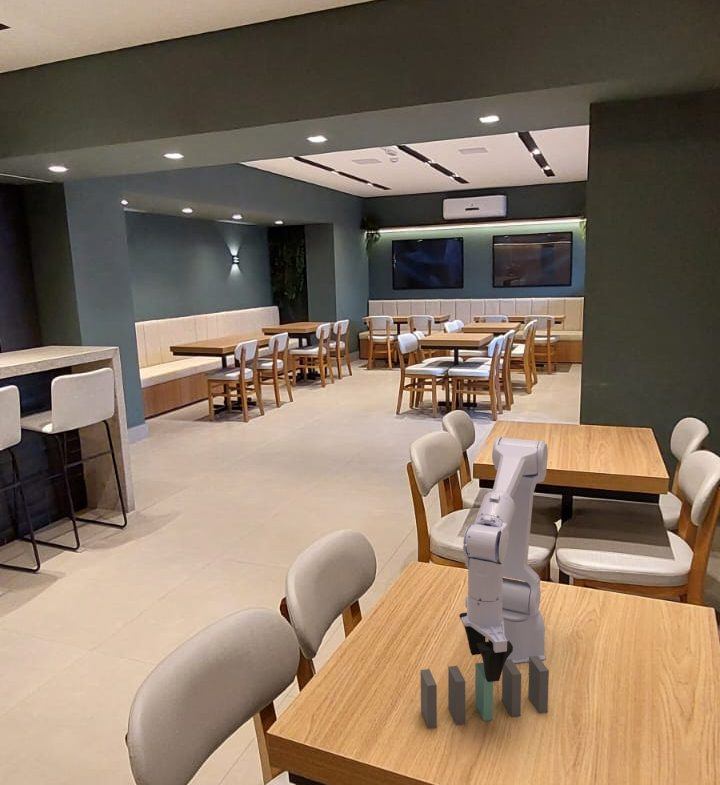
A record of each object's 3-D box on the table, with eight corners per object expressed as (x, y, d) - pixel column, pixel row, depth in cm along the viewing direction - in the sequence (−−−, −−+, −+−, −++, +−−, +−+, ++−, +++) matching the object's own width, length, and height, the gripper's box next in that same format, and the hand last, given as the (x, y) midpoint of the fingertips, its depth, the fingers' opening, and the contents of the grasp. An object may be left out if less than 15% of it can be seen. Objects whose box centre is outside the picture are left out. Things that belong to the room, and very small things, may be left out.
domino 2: (456, 706, 109) (457, 665, 107) (465, 723, 104) (465, 681, 103) (448, 707, 108) (448, 666, 107) (456, 724, 104) (456, 682, 103)
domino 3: (510, 699, 110) (511, 658, 109) (520, 715, 106) (521, 673, 105) (501, 700, 110) (502, 659, 109) (511, 717, 106) (512, 675, 104)
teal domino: (483, 703, 109) (484, 662, 108) (492, 719, 105) (493, 677, 104) (475, 704, 109) (475, 663, 108) (483, 721, 105) (484, 678, 104)
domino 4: (536, 695, 111) (537, 655, 110) (547, 712, 107) (548, 670, 105) (528, 697, 111) (529, 656, 109) (539, 713, 106) (540, 671, 105)
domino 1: (429, 710, 108) (429, 668, 107) (436, 727, 104) (436, 684, 102) (420, 711, 108) (420, 670, 106) (427, 728, 103) (427, 686, 102)
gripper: (449, 576, 110) (449, 645, 112) (477, 618, 96) (476, 696, 98) (486, 572, 111) (486, 640, 113) (520, 613, 97) (518, 690, 99)
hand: (484, 666), depth 106 cm, fingers open, 7 cm apart
